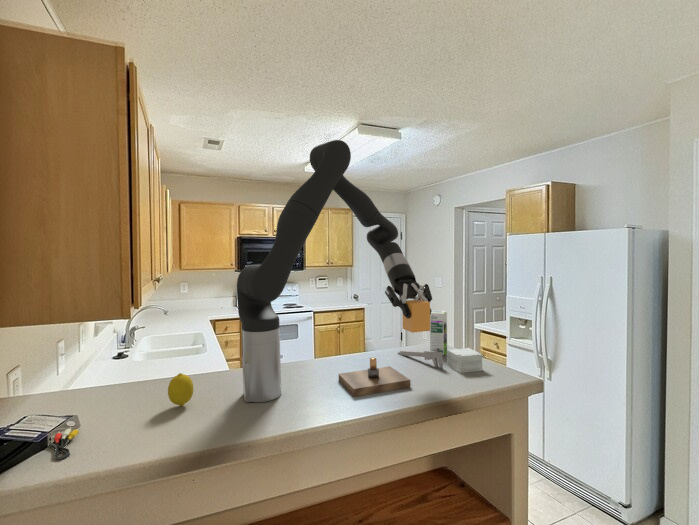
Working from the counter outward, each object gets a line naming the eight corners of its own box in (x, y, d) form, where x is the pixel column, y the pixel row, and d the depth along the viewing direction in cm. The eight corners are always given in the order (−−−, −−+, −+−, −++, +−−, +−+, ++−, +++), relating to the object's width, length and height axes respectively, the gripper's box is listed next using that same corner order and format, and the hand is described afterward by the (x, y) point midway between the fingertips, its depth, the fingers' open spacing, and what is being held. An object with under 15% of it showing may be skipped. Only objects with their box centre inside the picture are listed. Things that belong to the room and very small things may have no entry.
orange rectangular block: (412, 332, 99) (412, 303, 99) (402, 328, 104) (402, 300, 104) (430, 330, 101) (429, 302, 100) (419, 326, 106) (419, 299, 106)
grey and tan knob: (370, 379, 96) (370, 360, 96) (366, 375, 99) (365, 357, 99) (380, 377, 97) (380, 359, 97) (376, 374, 100) (375, 356, 100)
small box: (469, 363, 115) (468, 347, 115) (483, 371, 107) (482, 354, 107) (446, 365, 113) (446, 349, 113) (458, 373, 106) (458, 356, 106)
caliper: (443, 369, 110) (442, 348, 110) (440, 370, 109) (440, 349, 109) (399, 353, 127) (399, 336, 127) (397, 354, 127) (396, 336, 127)
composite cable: (69, 460, 65) (69, 446, 65) (35, 467, 63) (35, 453, 63) (80, 435, 74) (80, 423, 74) (51, 441, 72) (50, 429, 72)
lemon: (169, 403, 88) (168, 371, 88) (194, 400, 90) (193, 368, 90) (167, 413, 83) (165, 378, 83) (193, 409, 85) (192, 375, 85)
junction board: (354, 396, 90) (353, 388, 90) (338, 380, 101) (338, 373, 101) (410, 387, 96) (410, 379, 95) (390, 373, 107) (389, 366, 107)
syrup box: (429, 354, 125) (429, 312, 124) (431, 349, 130) (430, 309, 130) (446, 355, 123) (446, 313, 123) (447, 350, 129) (447, 310, 128)
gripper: (381, 263, 106) (400, 309, 95) (423, 262, 111) (446, 306, 100) (373, 280, 111) (391, 325, 101) (414, 278, 116) (436, 321, 106)
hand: (419, 315), depth 101 cm, fingers closed on orange rectangular block, 5 cm apart
